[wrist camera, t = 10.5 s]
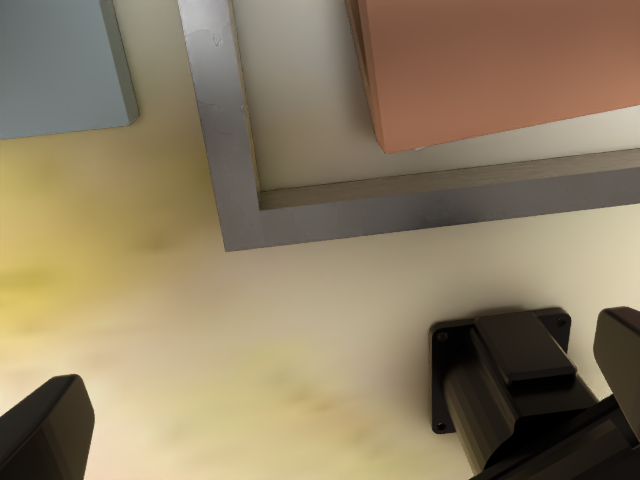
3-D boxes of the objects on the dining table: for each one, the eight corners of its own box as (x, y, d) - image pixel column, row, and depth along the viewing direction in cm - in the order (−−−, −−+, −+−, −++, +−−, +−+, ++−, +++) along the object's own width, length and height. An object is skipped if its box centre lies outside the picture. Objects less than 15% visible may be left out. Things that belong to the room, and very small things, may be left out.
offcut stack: (627, 64, 21) (719, 86, 17) (367, 138, 21) (391, 179, 17) (626, -126, 18) (736, -158, 14) (326, -36, 19) (342, -40, 14)
